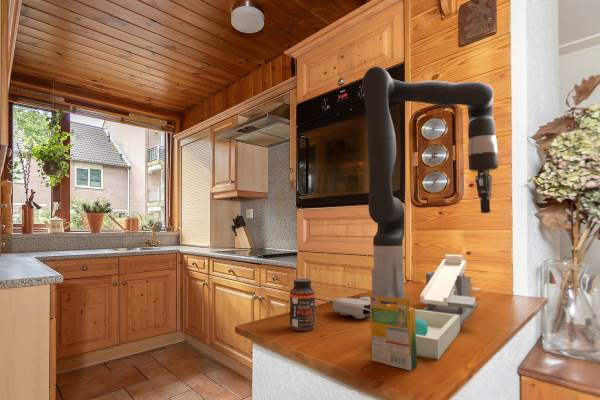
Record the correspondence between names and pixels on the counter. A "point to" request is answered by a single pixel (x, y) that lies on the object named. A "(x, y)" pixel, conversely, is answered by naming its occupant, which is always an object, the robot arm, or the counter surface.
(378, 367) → the counter surface
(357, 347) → the counter surface
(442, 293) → the trough
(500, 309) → the counter surface
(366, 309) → the robot toy
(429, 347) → the tray
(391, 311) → the crayon box
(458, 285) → the stand
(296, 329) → the supplement bottle
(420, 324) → the ball
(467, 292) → the architectural model
